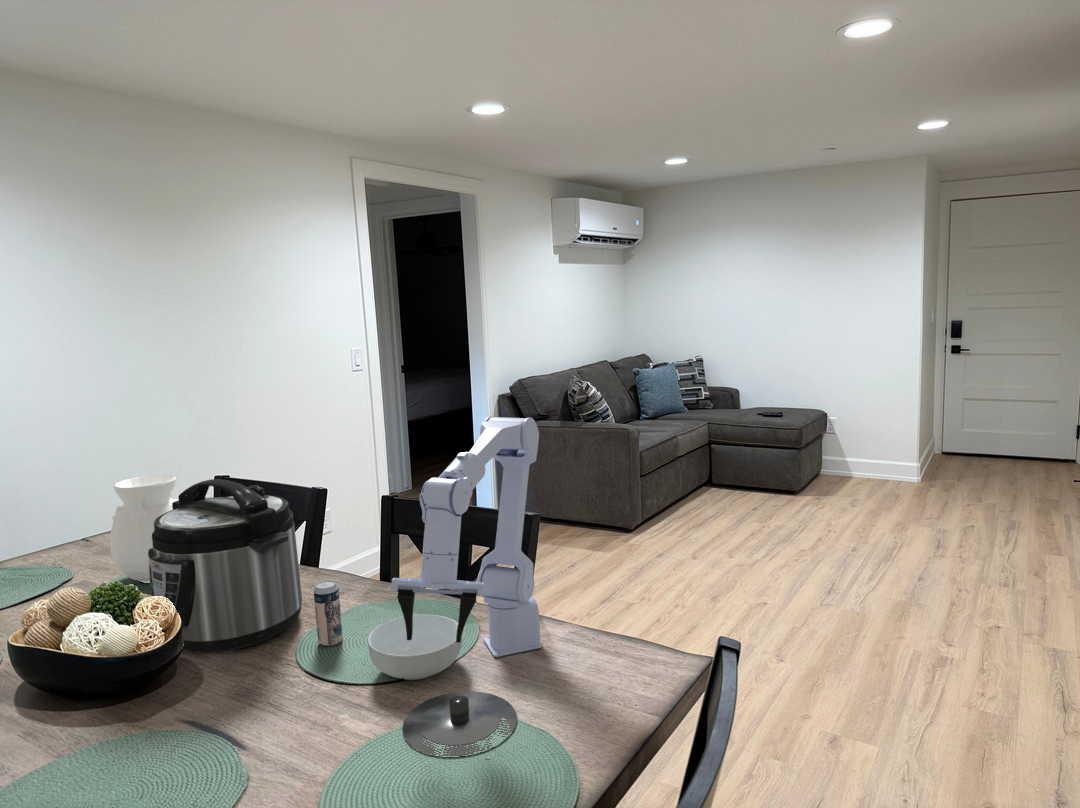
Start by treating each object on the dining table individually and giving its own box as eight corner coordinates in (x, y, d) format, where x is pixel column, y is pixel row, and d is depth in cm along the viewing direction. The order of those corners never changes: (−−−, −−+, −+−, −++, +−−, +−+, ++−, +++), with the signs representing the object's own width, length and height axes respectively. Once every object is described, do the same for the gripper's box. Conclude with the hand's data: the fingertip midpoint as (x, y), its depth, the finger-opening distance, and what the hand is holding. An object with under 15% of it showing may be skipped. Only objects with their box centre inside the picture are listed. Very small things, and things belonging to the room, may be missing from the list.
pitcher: (134, 566, 195) (123, 474, 192) (207, 561, 197) (197, 469, 194) (101, 594, 177) (87, 492, 173) (181, 588, 179) (170, 487, 175)
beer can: (336, 648, 145) (331, 589, 143) (313, 647, 146) (308, 588, 144) (347, 637, 149) (342, 580, 148) (325, 636, 150) (320, 579, 149)
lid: (498, 686, 129) (497, 663, 129) (532, 743, 112) (531, 717, 112) (394, 709, 123) (392, 685, 123) (414, 772, 106) (412, 745, 106)
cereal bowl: (421, 703, 124) (419, 663, 123) (350, 679, 133) (347, 642, 132) (482, 659, 138) (480, 623, 137) (414, 640, 147) (412, 606, 146)
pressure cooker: (163, 614, 164) (146, 474, 160) (297, 590, 175) (285, 458, 170) (151, 676, 137) (131, 508, 132) (311, 643, 147) (297, 487, 143)
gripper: (392, 553, 115) (384, 643, 113) (486, 558, 116) (480, 647, 115) (396, 548, 122) (389, 633, 120) (485, 553, 123) (479, 637, 122)
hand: (433, 640), depth 118 cm, fingers open, 7 cm apart
